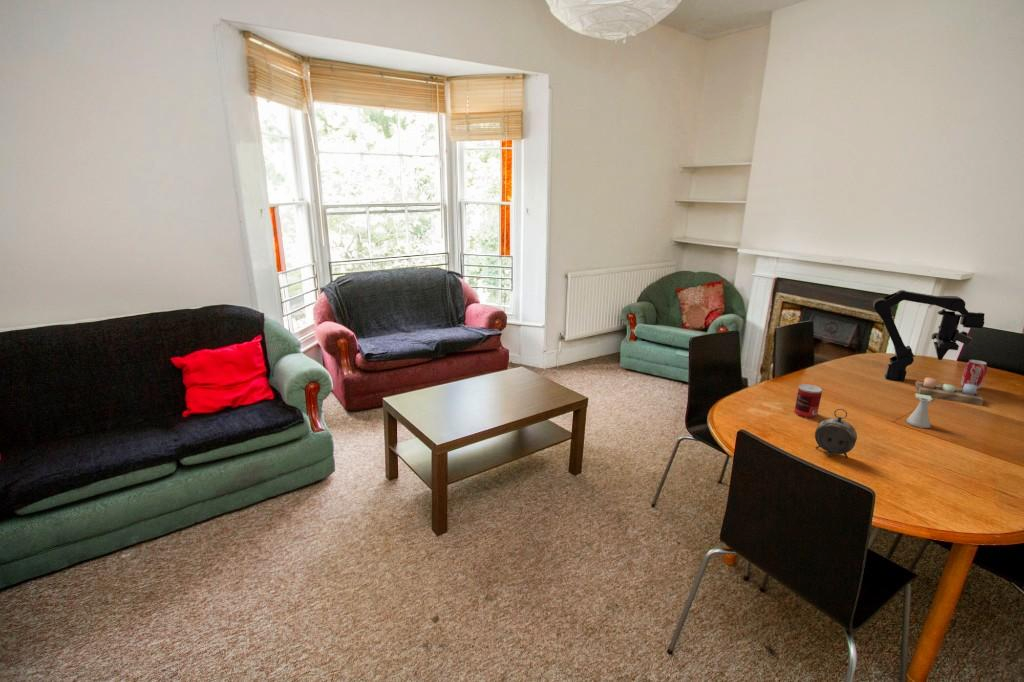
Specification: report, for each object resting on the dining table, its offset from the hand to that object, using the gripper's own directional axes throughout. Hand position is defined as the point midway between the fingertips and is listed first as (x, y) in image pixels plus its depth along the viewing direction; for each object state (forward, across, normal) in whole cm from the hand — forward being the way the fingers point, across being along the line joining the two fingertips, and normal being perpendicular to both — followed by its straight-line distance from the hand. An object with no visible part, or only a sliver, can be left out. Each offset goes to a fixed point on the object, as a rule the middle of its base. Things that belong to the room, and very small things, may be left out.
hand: (939, 359), depth 215 cm
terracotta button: (+10, -12, +4) cm, 16 cm away
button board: (+12, -12, -3) cm, 17 cm away
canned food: (+12, -67, +48) cm, 83 cm away
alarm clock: (+12, -98, +40) cm, 107 cm away
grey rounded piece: (+10, -12, -9) cm, 18 cm away
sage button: (+12, -12, -3) cm, 17 cm away
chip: (+12, -21, +6) cm, 25 cm away
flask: (+12, -54, +12) cm, 57 cm away
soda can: (+12, +6, -14) cm, 20 cm away
